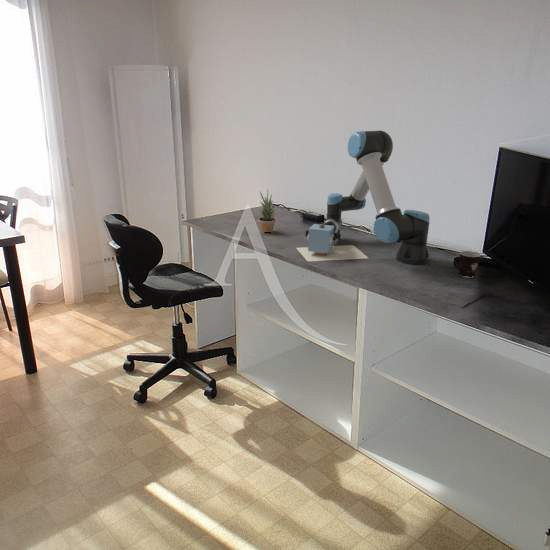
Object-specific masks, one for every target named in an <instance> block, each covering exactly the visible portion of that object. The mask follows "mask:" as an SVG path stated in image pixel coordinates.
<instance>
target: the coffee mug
mask: <svg viewBox="0 0 550 550" xmlns="http://www.w3.org/2000/svg"><path fill="white" fill-rule="evenodd" d="M481 256H482V254H481V253H479V252H477V251H473V250H472V251H471V250H462V251H459V257H456V258H454V260H453V266H454V268H456V269H457V270H458V272H459V273H458V274H460V275H462V276H469V277H472V276H475V277H476V274H477V270H478V267H479V263H480V260H481V258H482V257H481ZM457 260H459V266H457V265H456V262H457Z"/></svg>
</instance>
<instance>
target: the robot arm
mask: <svg viewBox="0 0 550 550" xmlns="http://www.w3.org/2000/svg"><path fill="white" fill-rule="evenodd" d="M393 148H394V143H393V139H392V137H391V135H390V134H388V132H386V131H383V130H360V131H359V130H358V131H355V132H353V133H352V134H351V135H350V136H349V139H348V142H347V153H348V155H349V156H350V157H351V158H353V159H355V160H356V163H357V165H359V166H361V167H362V172H361V173H360V175H359V177H358V179H357V180H356V183H355V185H354V187H353V189H352V191H351V192H350V195H349V196H348V195H347V196H343V194H341V193H335V192H334V193H329V194H328V195H327V202H326V207H327V208H326V218H325V219H326V221H325V222H324V223H323V224H324V225H331V226H334V234H333V235H332V236H331V237H330V241H329V243H330V244H331V243H332V242H333V243H334V241H336V240H338V241H340V240H341V239H342V238H341V237H342V236H341V235H342V234H341V229H340V228H341V226H342V223H343V219H342V212H348V211H350V212H351V211H359V210H363V209H364V208H366V205H367V204H366V203H367V201H366V200H367V199H366V196H367V194H368V193H369V192H370V195H371V197H372V200H373V204H374V206H375V207H374V208H375V210H376V215H375V220H374V223H373V233H374V235H375V237H376V238H377V240H379V241H380V242H382V243H385V244H387V243H393V244H394V243H397V242H400V243H399V246H398V248H397V250H396V253H395V259H396V260H397V261H398V262H400V261H401V263H403V262H405V263H404V264H408V263H413V264H412V265H423V264H422V263H424V264H427V263H428V262H429V260H430V254H429V251H428V245H427V243H428V234H429V229H430V228H429V227H430V214H429V213H427V212H424V211H419V210H415V209H405V210H404V212H403V213H402V210H401V208H400V207H397V206H396V203H395V200H394V197H393V194H392V192H391V188H390V185H389V183H388V179H387V177H386V174H385V171H384V164H385V163H388V161H389V160H390V157H391V156H392V154H393V150H394V149H393ZM305 237H306V241H307V242H308V238H309V229H308V230H306V231H305ZM426 262H427V263H426Z"/></svg>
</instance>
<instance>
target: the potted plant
mask: <svg viewBox="0 0 550 550" xmlns="http://www.w3.org/2000/svg"><path fill="white" fill-rule="evenodd" d="M266 191H267V193H266V196H264V197H263V194H262V192H261V191H259V194H260V196H261V200H262V201H261V200H260V204H261V206H262V208H260V209H258V210H259V212H260V213H261V215H262V217H258V219H257V220H258V223H259V226H260V230H261V233H263V232H271V233H272V232H273V230H274V227H275V224H276V218H275V217H274V215H275V206H276V204H274V205H273V202H274V201H273V200H272V196H273V195H272V193H271V194H270V197H269V188H267V190H266ZM261 209H262V210H261Z"/></svg>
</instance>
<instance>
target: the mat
mask: <svg viewBox="0 0 550 550" xmlns="http://www.w3.org/2000/svg"><path fill="white" fill-rule="evenodd" d="M295 248H296V250H297V251H298V253H300V255H302V257H303V258H304V259H305V260H306V262H323V261H342V260H344V261H345V260H363V259H369V257H368V256H367V255H366V254H365V253H363V252H362V251H361V250H360V249H358V248H357V247H356V246H355V245H353V244H352V245H351V244H350V245H333V248H332V250H331V251H330V252H329V253H327V254H326V255H316V254H314V252H311V251H308V246H304V247H295Z"/></svg>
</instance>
